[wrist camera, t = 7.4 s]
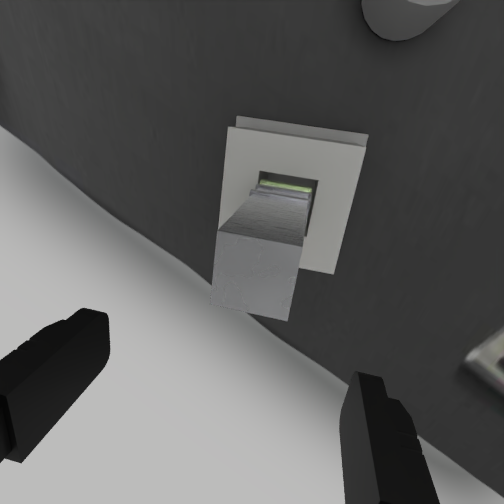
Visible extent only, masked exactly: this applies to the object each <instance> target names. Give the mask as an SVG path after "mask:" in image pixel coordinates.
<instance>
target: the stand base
mask: <svg viewBox="0 0 504 504" xmlns="http://www.w3.org/2000/svg"><path fill="white" fill-rule="evenodd" d="M367 139H368V135H367V134H361V133H354V132H347V131H340V130H333V129H326V128H319V127H312V126H305V125H298V124H291V123H284V122H277V121H270V120H264V119H257V118H250V117H243V116H237V119H236V127H228V134H227V144H226V154H225V165H224V175H223V185H222V195H221V206H220V216H219V226H218V229H219V228H220V227H221V226H222V225H223V224H224V223H225V222H226V221H227V220H228V219H229V218H230V217H231V216H232V215H233V214H234V213H235V211H236V210H237V209H238V208H239V207H240V206H241V205H242V204H243V203H244V202H245V201H246V200H247V199H248V198H249V193H250V190H251V189H253V190H255V187H256V184H260V180H261V179H268V180H274V181H280V182H286V183H292V184H298V185H304V186H309V187H312V190H311V198H310V199H311V203H310V208H309V213H308V218H307V222H306V227H305V232H304V241H303V249H302V254H301V258H300V263H299V268H304V269H309V270H314V271H319V272H324V273H329V274H334V271H335V267H336V263H337V259H338V255H339V251H340V247H341V243H342V240H343V236H344V232H345V228H346V224H347V220H348V216H349V213H350V209H351V205H352V201H353V197H354V193H355V189H356V185H357V182H358V178H359V174H360V170H361V166H362V162H363V158H364V155H365V151H366V143H367Z"/></svg>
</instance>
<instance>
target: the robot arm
mask: <svg viewBox="0 0 504 504" xmlns="http://www.w3.org/2000/svg"><path fill="white" fill-rule="evenodd" d="M109 355H110V335H109V318H108V315H107V314H106V313H104V312H100V311H96V310H91V309H87V308H82V309H80V310H78V311H77V312H75V313H74V314H73V315H72V316H70V317H69V318H68V319H67V320H60V321H58V322H55V323H53V324H51V325H49V326H46V327H44V328H43V329H42V330H40V331H39V332H38V333H36V334H35V335H33V336H32V337H31V338H30V340H29V341H25V342H24V343H23V344H21V345H20V346H19V347H18V348H17V350H13V351H12V352H11V353H9V354H8V355H7V356H5V357H4V358H3V359H1V360H0V463H1V462H2V461H3V459H4V458H5V459H9V460H12V461H16V462H19V463H22V462H23V461H24V459H26V457H27V456H28V455H29V454H30V453H31V452H32V450H33V449H34V448H35V447H36V446H37V445H38V444H39V442H40V441H41V440H42V439H43V438H44V436H45V435H46V434H47V433H48V432H49V431H50V430H51V429H52V427H53V426H54V425H55V424H56V423H57V422H58V421H59V419H60V418H61V417H62V416H63V415H64V414H65V412H66V411H67V410H68V409H69V408H70V407H71V406H72V404H73V403H74V402H75V401H76V400H77V399H78V397H79V396H80V395H81V394H82V393H83V392H84V390H85V389H86V388H87V387H88V386H89V385H90V384H91V382H92V381H93V380H94V379H95V378H96V377H97V376H98V374H99V373H100V372H101V371H102V370H103V368H104V367H105V365H106V363H107V361H108V359H109ZM339 429H340V442H341V455H342V467H343V479H344V492H345V504H440V503H439V499H438V497H437V493H436V490H435V487H434V485H433V481H432V478H431V475H430V472H429V469H428V466H427V463H426V460H425V457H424V455H422V448H421V445H420V442H419V439H417V433H416V430H415V427H414V424H413V421H412V418H411V416H410V415H409V413H408V412H407V411H406V409H405V408H404V407H403V405H402V404H401V402H400V401H399V400H396V399H392V398H388V396H387V393H386V389H385V385H384V382H383V379H382V378H381V377H378V376H374V375H370V374H365V373H361V372H357V371H355V372H354V374H353V376H352V379H351V382H350V385H349V388H348V391H347V394H346V397H345V400H344V403H343V406H342V409H341V415H340V428H339Z"/></svg>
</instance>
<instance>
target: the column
mask: <svg viewBox="0 0 504 504" xmlns="http://www.w3.org/2000/svg"><path fill="white" fill-rule="evenodd" d="M311 190H312V187H309V186H304V185H298V184H292V183H286V182H280V181H274V180H268V179H261V180H260V184H256V187H255V190H253V189H251V190H250V193H249V198H248V199H247V200H246V201H245V202H244V203H243V204H242V205H241V206H240V207H239V208H238V209H237V210H236V211H235V213H234V214H233V215H232V216H231V217H230V218H229V219H228V220H227V221H226V222H225V223H224V224H223V225H222V226H221V227H220V228H219V229H218V230H217V238H216V248H215V259H214V269H213V280H212V290H211V301H210V304H211V305H216V306H220V307H225V308H229V309H234V310H239V311H243V312H248V313H252V314H257V315H261V316H266V317H270V318H275V319H280V320H284V321H288V316H289V311H290V306H291V301H292V297H293V292H294V287H295V282H296V278H297V273H298V268H299V263H300V258H301V254H302V249H303V241H304V232H305V227H306V222H307V218H308V213H309V208H310V203H311V199H310V198H311Z"/></svg>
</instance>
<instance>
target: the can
mask: <svg viewBox="0 0 504 504" xmlns="http://www.w3.org/2000/svg"><path fill="white" fill-rule="evenodd" d="M459 1H460V0H362V3H361V5H362V10H363V14H364V18H365V20H366V22H367V23H368V25H369V27H370V28H371V30H372V31H373V32H375V33H376V34H377V35H379V36H380V37H381V38H385V39H388V40H392V41H400V40H408V39H410V38H413V37H415V36H417V35H420V34H422V33H423V32H424V31H425V30H427V29H428V28H429V27H430V26H431V25H433V24H434V23H435V22H436V21H437V20H438V19H440V18H441V17H442V16H443V15H444V14H445V13H446V12H448V11H449V10H450V9H451V8H452V7H453V6H454V5H456V4H457V3H458V2H459Z"/></svg>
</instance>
